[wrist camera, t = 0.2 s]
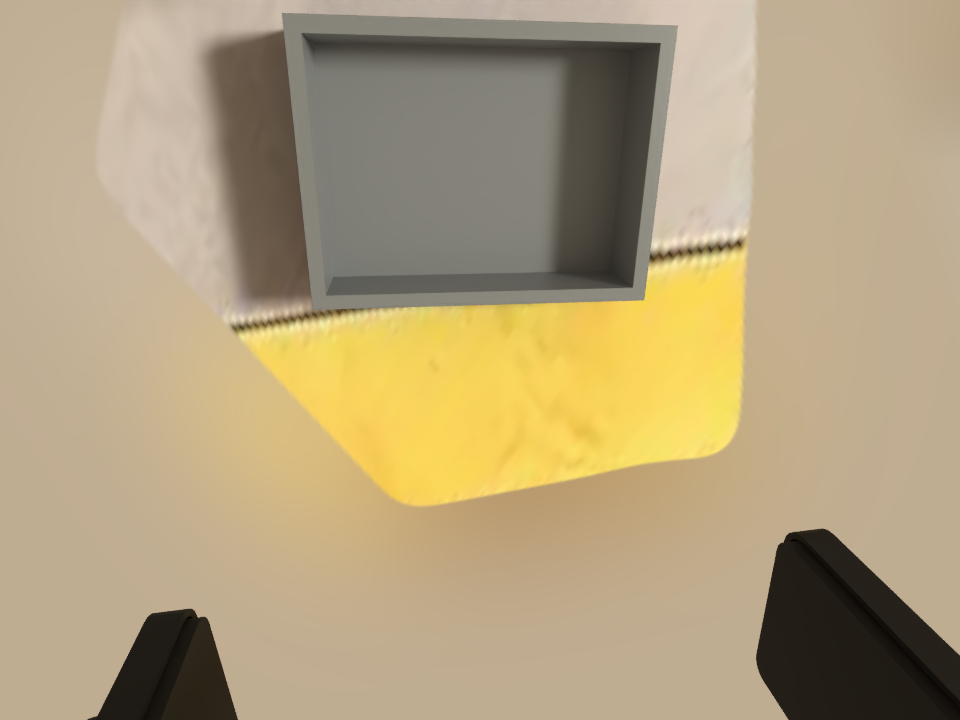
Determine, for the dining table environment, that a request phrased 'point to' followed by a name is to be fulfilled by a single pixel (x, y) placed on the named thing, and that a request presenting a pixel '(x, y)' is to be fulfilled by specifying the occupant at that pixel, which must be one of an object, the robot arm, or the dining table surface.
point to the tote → (476, 157)
